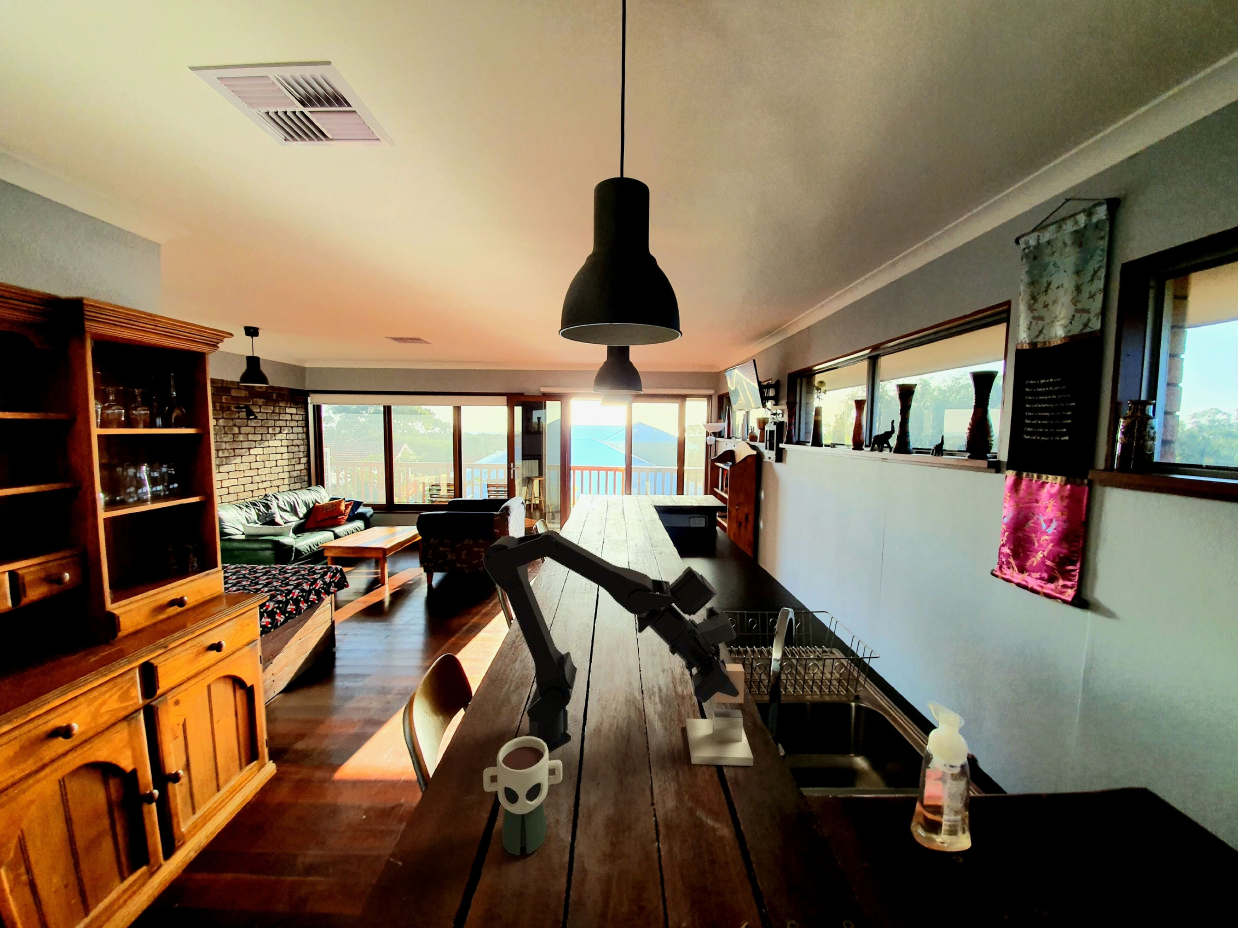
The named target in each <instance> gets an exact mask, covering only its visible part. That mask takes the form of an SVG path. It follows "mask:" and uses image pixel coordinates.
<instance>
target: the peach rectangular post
mask: <svg viewBox="0 0 1238 928" xmlns="http://www.w3.org/2000/svg"><path fill="white" fill-rule="evenodd" d="M725 664H726V669H727V672H728V675H729V677H730V680H731V681H732V683H733V684H734V685H735V687H736V688H737V690H738V691H739V695H738V696H737V697H732V696H729V695H726V694H723V693H720V692H717V693H716V694H714V695H713V696H712V697H713V698H714V702H715V703H725V704H728V703H729V704H744V700H745V699H744V697H745V695H744V693H745V688H744V687H745V670H744V667H743V665H742V663H725Z"/></svg>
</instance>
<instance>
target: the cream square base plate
mask: <svg viewBox="0 0 1238 928" xmlns="http://www.w3.org/2000/svg"><path fill="white" fill-rule="evenodd" d="M743 716H744V715H743V714H742V711H741V709H726V708H725V709H721V708H718V709H716V708H712V718H711V719H710V718H709V719H707V718H685V727H686V728H685V729H686V735H687V740H688V747H689V748H688V749H689V752H690V753H689V754H690V760H691V765H693V764H694V765H717V766H718V765H719V766H720V765H721V766H722V765H723V766H749V767H750V766H751V767H752V766H754V756H753V754H752V750H751V747H750V745H749V742H748V739H747V735H746V733H745V729H744V725H743V723H744V721H743V719H744V717H743Z"/></svg>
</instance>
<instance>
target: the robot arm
mask: <svg viewBox="0 0 1238 928" xmlns="http://www.w3.org/2000/svg"><path fill="white" fill-rule="evenodd" d="M545 558H549V559H550V560H553V561H554V562H555V563H558V564H559V565H561V566H563V567H565V568H566V569H568V570H571V572H574V573H576V574H578V575H579V576H581V577H583V578H584V579H587V581H590V582H591V583H593V584H594V585H597V586H599V587H601V588H602V589H603V590H604V591H606V592H607V593H608V594H609V595H610V596H611V597H612V599H613V600H614V601H615V603H617V604H619V605H620V606H621V607H622V608H623V609H624V610H626V611H627V612H628V613H630V614H632V615H635V616H636V621H637V633H639V634H642V633H643V632H644V631H645V630H646V629H647V628H648V627H649V628H650V629H651V630H652V631H653V632H654V633H655V634H656V635H657V636H658V637H659V638H660V639H661V640H662V641H663V642H664V643H665V644H666V645H667V646H668V650H669V651H668V652H669V653H670V654H671V655H672V656H675V655H677V656H678V657H679V658H680V659H681V660H682V661H683V662H684V665H685V667H684V668H685V669H686V670H687V671H688V672H691V671H692V670H693V669H695V670H696V671H697V672H695V674H693V675H692V677H691V685H692V686H691V687H692V691H693V695H694V696H695V697H696V699H698V701H700V703H702V704H705V703H707V702H708V701H709V700H710V699H711V698H712V697H714V696H713V695H714V694H716V693H717V692H720V693H723V694H726V695H729V696H732V697H737V696H738V695H739V691H738V690H737V688H736V687H735V685H734V684H733V683H732V681H731V680H730V677H729V675H728V672H727V669H726V664H727V663H726V662H725V659H724V658H723V659H721V648H720V645H721V644H724V643H725V642H729V641H733V640H735V639H736V637H737V633H736V631H735V630H734V628H733V624H732V623H731V621H730V618H729V617H728V614H727V613H726V612H725V611H724V610H719V609H718V608H716V607H715V606H710V607H707V608H706V609H705V617H704V618H702V621H700V622H699V623H697V621H696V620H694V619H693V618H692V619H691V618H689V619H688V618H687V617H685V615H687V616H689V617H691V616H695V615H697V614H698V613H699V611H701V610H702V609H703V608H704V607H705V606H706V605H707V604H709V602H710V601H712V600H713V599H714V598H715V597H716V596H717V595H718V592H717V591H716V589H715V588H714V586H713V585H712V584H711V583H710V582H709V581H708V580H707V579H706V577H705V576H704V575H703V574H700V573H699V572H698V571H697V570H695V569H694V568H692V567H691V566H687V567H686V568H685V569H684V570H683V571H682V573H681V574H680V575H679V576H678V577H677V578H676V579H675V580H674V581H672V583H670V581H669V580H663V579H662V580H661V579H655V578H651V577H650V576H649V575H647V574H645V573H643V572H640V571H639V570H635V569H632V568H630V567H629V568H628V567H622V566H618V565H615V564H612V563H610V562H609V561H607V560H605V559H604V558H601V557H600V556H598V555H597V554H594V553H593V552H591V551H589V550H588V549H586V548H584V547H582V546H580V545H578V544H577V543H575V542H573V541H571V540H570V539H568V538H566V537H564V536H562V535H561V534H560V533H559V532H558V531H557V530H554V529H553V530H552V529H548V530H544V532H540V533H532V534H526V535H523V536H518V537H516V536H513V535H505V536H504V535H503V536H502V537H501V538H498V539H497V540H496V541H495V542H494V543H492V545H491V546H489V547H488V548H487V549H486V550H485V552H484V555H483V557H482V562H483V566H484V569H485V570H486V572H487V573H488V574H489V576H490V578H491V580H492V581H493V583H494V584H496V585H497V586H498V587H499V588H500V589H501V590H503V592H504V593H505V595H506V597H507V599H508V602H509V604H510V606H511V609H512V611H513V614H514V616H515V618H516V621H517V624H518V626H519V628H520V632H521V633H522V636H523V637H524V640H525V641H524V642H525V643H526V646H527V648H528V650H529V654H530V655H531V658H532V660H533V662H534V671H535V673H534V674H535V684H536V687H535V689H534V692H533V695H532V696H531V700H530V702H529V704H528V707H527V710H526V714H527V718H528V726H529V727H528V732H527V733H526V734H524V736H531V737H536V738H539V739H541V740H542V741H543V742H544V743H546V745H547V748H548V753H551V752H553V751H555V750H556V749H558V748H559V747H561V746H563V745H565V744H567V743H568V742H570V741H571V740H572V735H571V734H569V733H568V731H569V715H568V714H569V713H568V709H567V706H568V705H569V704H570V702H571V699H572V694H573V691H574V687H575V683H576V680H577V679H576V677H577V671H578V668H577V666H575V664H574V662H573V659H572V654H571V652H570V651H567V652H566V653H564V654H563V653H562V652H561V651H560V650H558V648H557V646H556V644H555V642H554V639H553V637H552V635H551V632H550V629H549V627H548V624H547V622H546V620H545V617H544V614H543V613H542V610H541V608H540V605H539V603H538V600H537V597H536V595H535V593H534V590H533V588H532V585H531V582H530V580H529V568H528V564H530V563H532V562H535V561H536V560H540V559H545ZM673 604H674V605H673Z"/></svg>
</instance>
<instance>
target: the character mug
mask: <svg viewBox="0 0 1238 928" xmlns="http://www.w3.org/2000/svg"><path fill="white" fill-rule="evenodd" d="M549 753H550V752H549ZM549 753H548V748H547V745H546V743H544V742H543V741H542V740H541V739H539V738H536V737H531V736H525V735H524V736H519V737H516V738H513V739H511V740H510V741H507V742H506V743H505V744H504V745H502V747H500V748H499V751H498V753H497V755H496V766H490V767H487V768H485V769H484V770H483V773H482V779H483V784H482V785H483V789H484V792H496V791H497V796H498V800H499V802H500V804H501V805H502V807H503V808H504V812H503V818H502V827H501V840H502V841H501V843H502V846H503V848H504V849H505V850H506V851H507V853H508V854H512V855H515V856H520V855H521V847H526V849H525V850H526V855H527V854H531V853H533V852H534V851H537V850H538V849H539V848H540V846H541V845H542V844H543V843H544V842H545V840H546V834H547V830H548V829H547V820H546V814H545V808H544V803H543V802H544V800H545V799H546V796H547V794H548V792H549V791H548V790H549V787H550V785H555V784H560V783H561V782H562V780H563V763H562V761H561V760H560V759H552V760H550V758H549ZM552 769H555V775H550V773H549V771H550V770H552ZM491 776H497V778H496V779H497V782H496V781H495V782H491Z"/></svg>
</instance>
